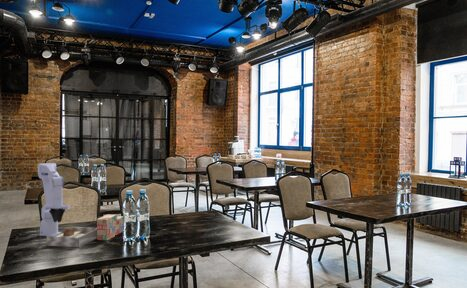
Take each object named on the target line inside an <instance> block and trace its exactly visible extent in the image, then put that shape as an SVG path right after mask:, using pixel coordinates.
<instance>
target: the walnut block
mask: <svg viewBox="0 0 467 288" xmlns="http://www.w3.org/2000/svg"><path fill="white" fill-rule="evenodd" d="M73 227H74V226H67V227H64V228H63V236H72V235H74V228H73Z"/></svg>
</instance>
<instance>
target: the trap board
mask: <svg viewBox="0 0 467 288" xmlns="http://www.w3.org/2000/svg"><path fill="white" fill-rule="evenodd" d="M72 227H73V228H74V235H72V236H63V233H62V232H61V233H60V234H58V235H55V236H46V246H48V247H49V246H50V247H51V246H52V247H66V248H67V247H69V248H70V247H71V248H73V247H74V248H80V247H83V246H84V245H86V244H88V243H89V242H92V241H94V240H96V239H97V227H84V226H83V227H82V226H81V227H80V226H72Z"/></svg>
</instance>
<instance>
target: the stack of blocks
mask: <svg viewBox="0 0 467 288" xmlns="http://www.w3.org/2000/svg"><path fill="white" fill-rule="evenodd" d="M124 218H125V217H124V216H123V215H122V216H121V215H117V214H109V213H108V214H104V215H103V216H101V217H98V218H97V219H96V228H97V238H96V239H97V241H108V240H110V239H113V238H114V237H116V236H117V235H119V234H121V233H123V232H124V231H123V229H124V230H125V227H124V226H125V223H124V222H125V221H124ZM115 235H116V236H115Z"/></svg>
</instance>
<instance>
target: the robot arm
mask: <svg viewBox="0 0 467 288" xmlns="http://www.w3.org/2000/svg"><path fill="white" fill-rule="evenodd" d="M37 176H38V178H39V179H40V180H41V181H42V187H43V192H44V193H43V194H44V200H45V201H44V202H45V204H44V205H43V206H42V207H41V209H40V210H41V212H40V213H41V215H40V216H41V219H42V220H41V221H40V222H39V237H41V236H43V237H47V236H58V235H60V234H62V231H59V223H61V222H62V220H63V216H64V213H65V211H68V210H70V209H71V205H67V204H66V205H65V204H64V197H63V189H64V188H63V187H64V186H65V181H64V179H65V178H64V177H63V175H60V174H59V172H58V171H57V164H56V162H48V163H47V162H46V163H45V162H44V163H41V162H40V163H38V164H37Z"/></svg>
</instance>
